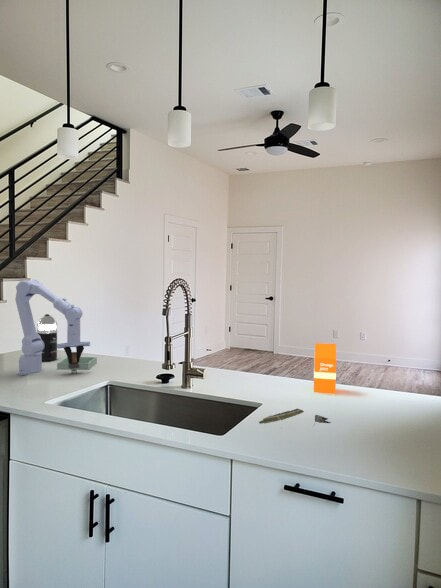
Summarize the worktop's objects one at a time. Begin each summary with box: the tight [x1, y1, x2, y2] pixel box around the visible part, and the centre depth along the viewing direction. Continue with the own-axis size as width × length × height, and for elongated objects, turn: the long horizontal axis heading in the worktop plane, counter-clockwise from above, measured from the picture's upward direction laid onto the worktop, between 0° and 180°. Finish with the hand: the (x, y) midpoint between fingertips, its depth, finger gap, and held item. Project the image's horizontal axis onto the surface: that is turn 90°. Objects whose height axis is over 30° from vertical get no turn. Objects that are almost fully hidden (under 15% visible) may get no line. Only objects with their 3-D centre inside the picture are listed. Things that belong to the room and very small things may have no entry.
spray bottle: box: [36, 313, 58, 362], centre depth 230 cm, size 10×10×25 cm
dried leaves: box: [258, 408, 332, 429], centre depth 141 cm, size 25×19×2 cm
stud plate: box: [70, 369, 78, 375], centre depth 198 cm, size 10×10×3 cm
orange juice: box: [313, 342, 337, 394], centre depth 179 cm, size 8×9×20 cm
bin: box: [56, 356, 98, 371], centre depth 213 cm, size 15×15×4 cm
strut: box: [68, 351, 79, 370], centre depth 198 cm, size 4×4×7 cm
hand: (73, 362), depth 198 cm, fingers closed on strut, 3 cm apart
